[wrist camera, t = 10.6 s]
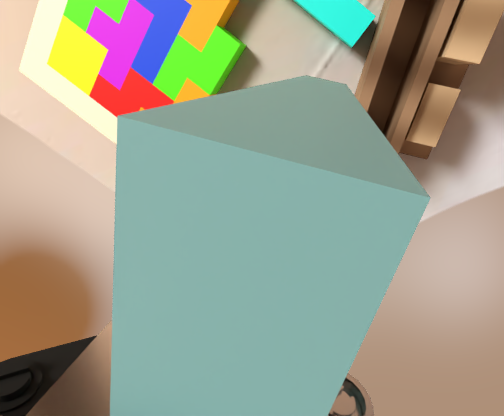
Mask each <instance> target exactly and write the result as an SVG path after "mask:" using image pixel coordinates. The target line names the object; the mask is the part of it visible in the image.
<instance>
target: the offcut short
mask: <svg viewBox="0 0 504 416" xmlns="http://www.w3.org/2000/svg"><path fill="white" fill-rule="evenodd" d="M460 91H461V90H460V89H455V88H451V87H446V86H441V85H437V84H432V83H427V84H426V87H425V89H424V92H423V94H422V97H421V99H420V102H419V104H418V107H417V109H416V112H415V114H414V117H413V119H412V122H411V124H410V127H409V129H408V132H407V134H406V137H405V140H407V141H411V142H415V143H419V144H423V145H428V146H432V147H436V145H437V142H438V140H439V138H440V136H441V133H442V131H443V129H444V127H445V124H446V122H447V120H448V118H449V115H450V113H451V111H452V109H453V106H454V104H455V102H456V100H457V97H458V95H459V93H460Z"/></svg>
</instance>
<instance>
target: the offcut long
mask: <svg viewBox="0 0 504 416" xmlns="http://www.w3.org/2000/svg"><path fill="white" fill-rule="evenodd" d="M503 11H504V0H460V2H459V4H458V7H457V9H456V12H455V14H454V17H453V19H452V22H451V24H450V27H449V29H448V32H447V34H446V37H445V39H444V42H443V44H442V47H441V49H440V52H439V54H438V57H437V59H436V61H439V62H444V63H449V64H454V65H458V64H480V62H481V60H482V58H483V55H484V53H485V51H486V49H487V47H488V44H489V42H490V40H491V38H492V36H493V33H494V31H495V29H496V27H497V25H498V22H499V20H500V18H501V16H502V14H503Z"/></svg>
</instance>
